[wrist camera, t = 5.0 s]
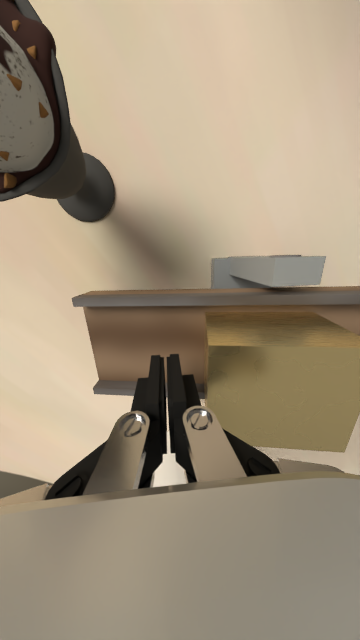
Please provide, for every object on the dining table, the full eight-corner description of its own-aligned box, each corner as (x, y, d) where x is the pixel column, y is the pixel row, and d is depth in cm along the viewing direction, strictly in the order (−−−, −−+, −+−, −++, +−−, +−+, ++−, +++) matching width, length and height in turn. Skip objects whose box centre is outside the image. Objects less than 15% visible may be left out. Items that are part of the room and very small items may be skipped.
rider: (205, 311, 13) (208, 345, 8) (312, 311, 12) (384, 348, 7) (204, 383, 15) (206, 442, 10) (296, 386, 14) (344, 452, 9)
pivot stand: (211, 256, 18) (249, 257, 10) (270, 254, 19) (350, 253, 11) (209, 364, 22) (235, 425, 14) (257, 360, 23) (308, 417, 15)
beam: (109, 285, 18) (66, 299, 12) (446, 277, 15) (600, 293, 9) (121, 358, 20) (90, 398, 15) (408, 364, 17) (508, 418, 12)
